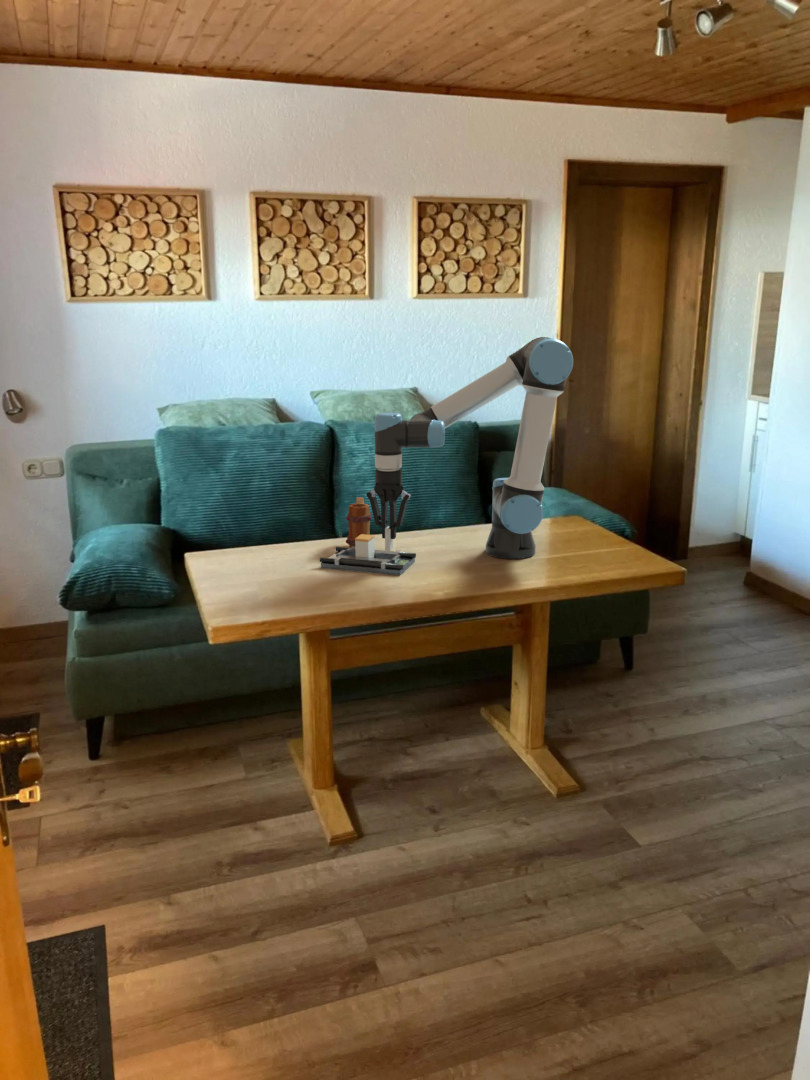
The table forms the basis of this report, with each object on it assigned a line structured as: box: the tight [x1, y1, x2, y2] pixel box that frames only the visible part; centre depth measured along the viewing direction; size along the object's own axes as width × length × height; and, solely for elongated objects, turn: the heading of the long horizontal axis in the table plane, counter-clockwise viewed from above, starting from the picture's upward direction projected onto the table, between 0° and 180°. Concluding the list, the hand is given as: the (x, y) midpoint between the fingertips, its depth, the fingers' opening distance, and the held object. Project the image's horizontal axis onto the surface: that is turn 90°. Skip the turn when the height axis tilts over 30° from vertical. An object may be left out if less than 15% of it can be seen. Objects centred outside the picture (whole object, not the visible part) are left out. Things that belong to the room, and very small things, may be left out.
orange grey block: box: [355, 534, 375, 558], centre depth 249 cm, size 4×5×7 cm
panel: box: [319, 546, 417, 577], centre depth 249 cm, size 25×14×3 cm, turn 72°
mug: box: [345, 496, 373, 548], centre depth 266 cm, size 15×8×15 cm, turn 179°
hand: (389, 549), depth 246 cm, fingers closed
